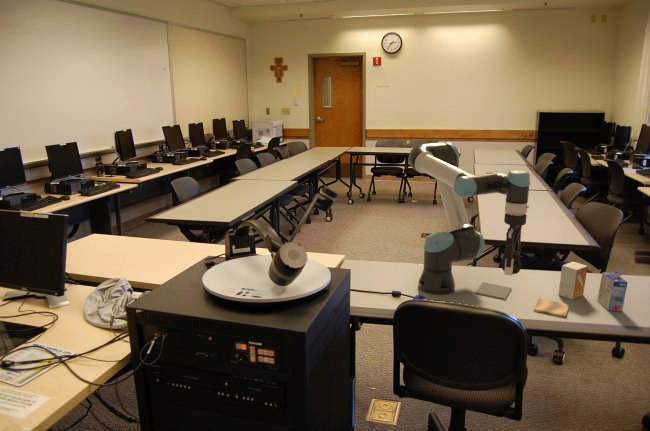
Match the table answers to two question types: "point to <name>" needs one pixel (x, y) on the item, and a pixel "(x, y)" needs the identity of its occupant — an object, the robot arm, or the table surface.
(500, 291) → the felt pad
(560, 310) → the square wooden coaster
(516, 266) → the mate gourd
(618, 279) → the ink cartridge box
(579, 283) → the small box
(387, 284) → the table surface
